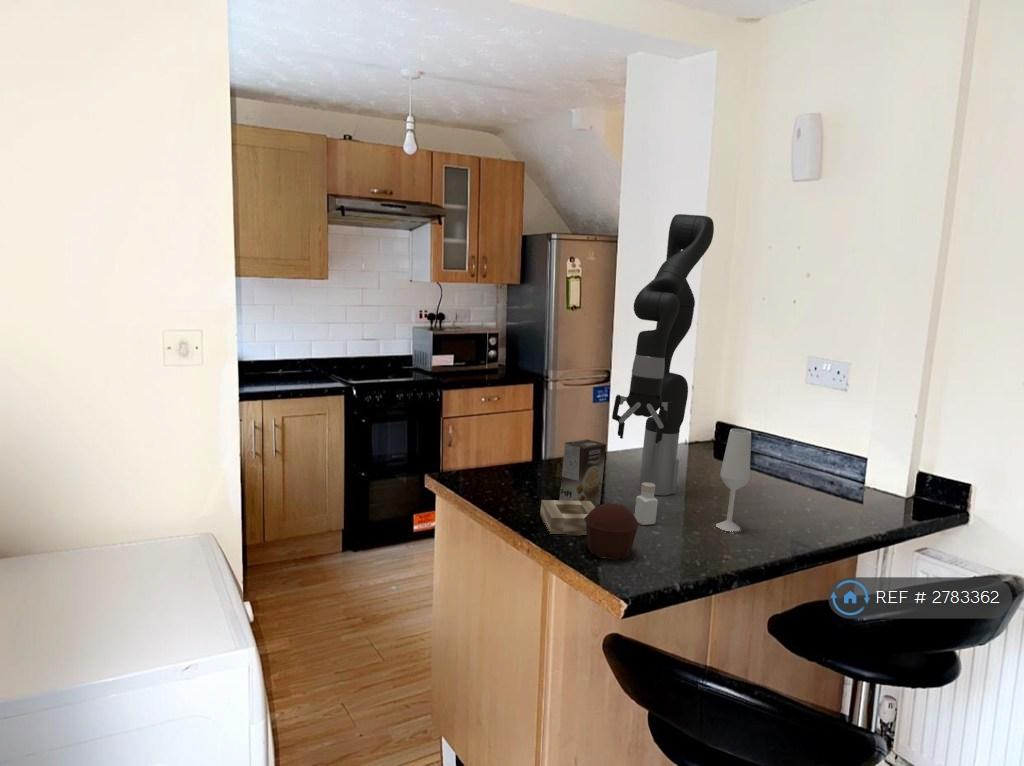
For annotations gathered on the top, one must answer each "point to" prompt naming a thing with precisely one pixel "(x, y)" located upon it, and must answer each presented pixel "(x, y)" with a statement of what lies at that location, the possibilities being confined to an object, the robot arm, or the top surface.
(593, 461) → the coffee box
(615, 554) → the muffin
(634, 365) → the robot arm
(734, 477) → the champagne flute
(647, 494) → the pepper shaker
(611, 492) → the top surface
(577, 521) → the birch holder
